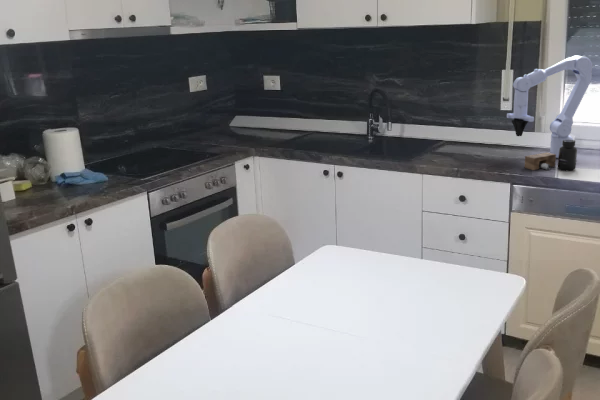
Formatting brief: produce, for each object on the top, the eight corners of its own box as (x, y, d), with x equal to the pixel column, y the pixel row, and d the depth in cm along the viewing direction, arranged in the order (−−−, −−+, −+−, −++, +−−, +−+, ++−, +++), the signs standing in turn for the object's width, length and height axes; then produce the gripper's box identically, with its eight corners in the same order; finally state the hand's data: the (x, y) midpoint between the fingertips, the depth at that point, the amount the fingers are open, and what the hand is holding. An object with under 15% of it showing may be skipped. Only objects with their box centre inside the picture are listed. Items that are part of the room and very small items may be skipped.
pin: (526, 166, 263) (527, 159, 262) (536, 164, 265) (537, 157, 264) (542, 170, 255) (543, 163, 254) (553, 169, 257) (553, 161, 257)
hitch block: (546, 163, 266) (546, 152, 265) (555, 166, 262) (555, 154, 260) (524, 167, 261) (525, 156, 260) (533, 170, 257) (534, 158, 256)
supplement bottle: (557, 170, 254) (559, 142, 251) (557, 167, 260) (559, 138, 257) (575, 171, 252) (578, 142, 248) (575, 167, 258) (577, 139, 254)
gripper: (501, 104, 277) (500, 134, 281) (525, 108, 265) (524, 139, 268) (514, 102, 280) (512, 132, 284) (538, 106, 267) (536, 137, 271)
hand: (519, 135), depth 276 cm, fingers closed
